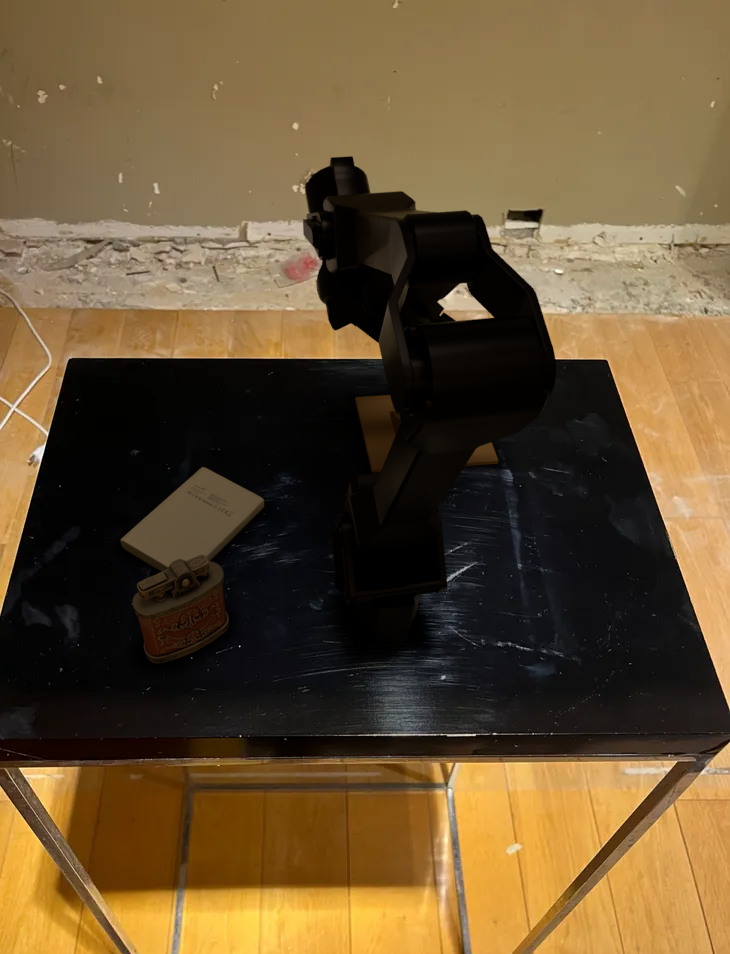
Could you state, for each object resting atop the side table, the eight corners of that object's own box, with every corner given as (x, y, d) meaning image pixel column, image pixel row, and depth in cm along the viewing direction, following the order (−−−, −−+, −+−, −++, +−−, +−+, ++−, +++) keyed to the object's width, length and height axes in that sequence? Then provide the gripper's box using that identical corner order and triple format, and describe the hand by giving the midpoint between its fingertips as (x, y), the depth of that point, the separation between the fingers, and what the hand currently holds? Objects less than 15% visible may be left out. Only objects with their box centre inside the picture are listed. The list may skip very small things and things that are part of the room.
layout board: (497, 463, 90) (498, 459, 90) (371, 472, 89) (372, 468, 88) (471, 393, 98) (472, 389, 97) (355, 400, 96) (355, 396, 96)
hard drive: (122, 549, 81) (203, 475, 88) (186, 587, 78) (264, 508, 85) (119, 538, 80) (201, 464, 87) (184, 577, 77) (264, 497, 84)
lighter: (218, 605, 77) (209, 535, 69) (235, 630, 75) (229, 562, 68) (138, 643, 74) (120, 575, 66) (154, 671, 72) (138, 604, 65)
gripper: (504, 266, 67) (563, 334, 79) (359, 175, 76) (432, 249, 89) (420, 379, 69) (490, 427, 82) (290, 278, 79) (371, 336, 92)
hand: (445, 355), depth 86 cm, fingers closed
